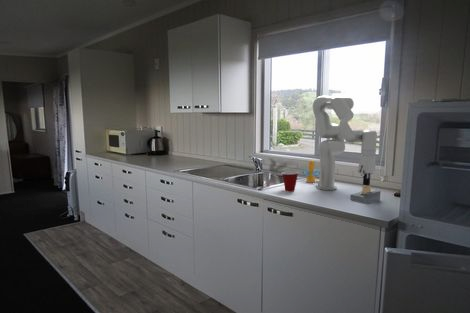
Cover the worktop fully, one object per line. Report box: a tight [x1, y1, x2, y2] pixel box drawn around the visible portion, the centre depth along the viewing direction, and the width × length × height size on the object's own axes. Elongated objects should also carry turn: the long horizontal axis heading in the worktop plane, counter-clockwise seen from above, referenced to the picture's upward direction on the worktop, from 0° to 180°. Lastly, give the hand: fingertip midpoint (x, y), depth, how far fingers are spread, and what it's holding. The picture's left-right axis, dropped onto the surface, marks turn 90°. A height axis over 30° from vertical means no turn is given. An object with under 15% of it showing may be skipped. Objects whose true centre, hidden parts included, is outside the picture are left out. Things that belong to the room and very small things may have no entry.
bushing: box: [361, 185, 372, 196], centre depth 183 cm, size 4×4×8 cm
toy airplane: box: [302, 160, 320, 183], centre depth 233 cm, size 12×10×15 cm
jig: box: [349, 189, 381, 204], centre depth 184 cm, size 11×12×5 cm
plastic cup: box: [281, 171, 299, 192], centre depth 206 cm, size 11×11×12 cm
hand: (366, 185), depth 183 cm, fingers closed
